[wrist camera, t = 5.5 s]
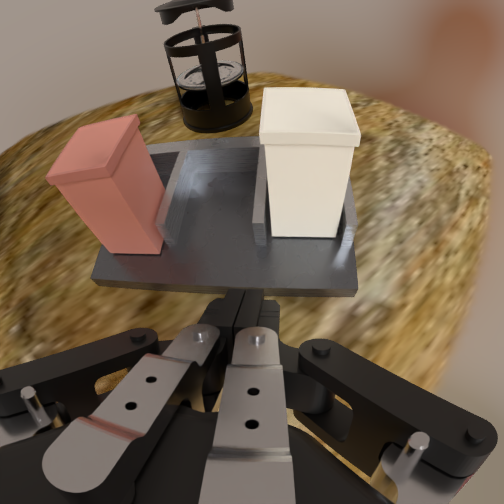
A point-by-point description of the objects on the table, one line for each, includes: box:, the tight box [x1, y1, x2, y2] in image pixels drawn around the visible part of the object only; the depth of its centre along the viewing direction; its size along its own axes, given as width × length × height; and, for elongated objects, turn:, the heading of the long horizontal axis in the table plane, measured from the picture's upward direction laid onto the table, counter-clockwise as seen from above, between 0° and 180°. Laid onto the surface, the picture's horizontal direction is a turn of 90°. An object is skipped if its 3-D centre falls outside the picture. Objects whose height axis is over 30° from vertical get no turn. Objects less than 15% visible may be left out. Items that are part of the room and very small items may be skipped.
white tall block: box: [259, 87, 361, 237], centre depth 20 cm, size 5×5×10 cm
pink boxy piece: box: [45, 114, 166, 254], centre depth 21 cm, size 5×5×10 cm
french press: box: [155, 0, 253, 133], centre depth 27 cm, size 12×9×23 cm
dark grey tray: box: [91, 136, 358, 297], centre depth 25 cm, size 14×22×4 cm, turn 86°
